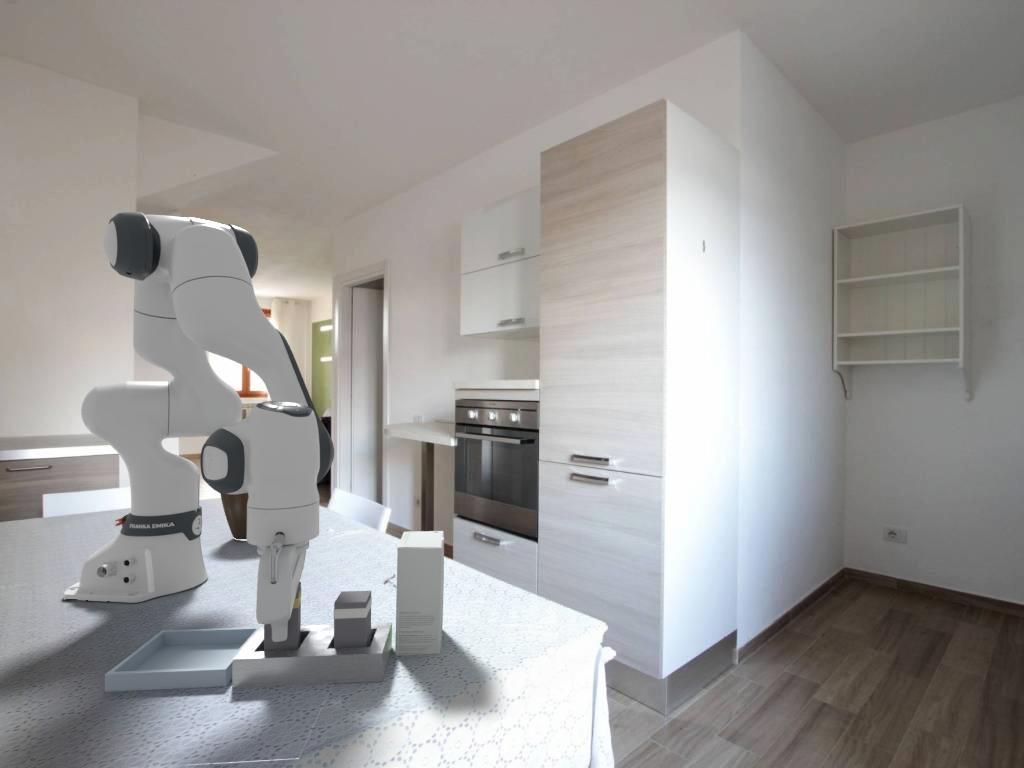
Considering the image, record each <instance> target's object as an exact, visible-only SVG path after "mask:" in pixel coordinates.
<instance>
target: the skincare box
mask: <svg viewBox="0 0 1024 768" xmlns="http://www.w3.org/2000/svg"><path fill="white" fill-rule="evenodd" d="M444 534H445V531H444V530H429V531H428V530H427V531H426V530H425V531H424V530H422V531H419V530H418V531H416V530H415V531H411V530H410V531H403V533H402V535H401V537H400V540H399V542H398V545H397V559H396V561H397V563H396V564H397V565H396V601H395V602H396V604H395V607H396V608H395V609H396V610H395V642H394V643H395V644H394V645H395V648H394V649H395V650H394V652H395V653H394V655H395V656H412V655H413V656H415V655H416V656H417V655H434V654H435V655H436V654H440V653H441V649H442V639H443V623H444V622H443V620H444V586H445V585H444V584H445V583H444V581H445V576H444V575H445V571H444V570H445V536H444Z"/></svg>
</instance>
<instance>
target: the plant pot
mask: <svg viewBox="0 0 1024 768" xmlns="http://www.w3.org/2000/svg"><path fill="white" fill-rule="evenodd" d="M219 494H220V498H221V499H220V500H221V504H222V507H223V511H224V515H225V518H226V522H227V525H228V527H229V530H230V532H231V535H232V537H234V538H236V539H247V503H248V498H249V495H248V493H243V494H221V493H219ZM234 538H233V539H234Z"/></svg>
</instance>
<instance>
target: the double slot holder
mask: <svg viewBox="0 0 1024 768" xmlns="http://www.w3.org/2000/svg"><path fill="white" fill-rule="evenodd" d="M260 627H261V628H260V629H259V630H258V631H257V632H256V633H255V635H254V636H253V637H252V638H251V639H250V640H249V641H248V643H247V644H246V645H245V646H244V647H243V648H242V649H241V650H240V652H239V653H238V654H237V655H236V656H235V657H234V658H233V667H232V679H231V680H232V682H231V686H232V687H231V688H232V689H239V688H240V689H241V688H258V687H259V688H261V687H262V688H264V687H280V686H281V687H283V686H286V687H287V686H301V685H303V686H305V685H324V684H327V685H328V684H332V685H342V684H344V685H345V684H363V683H364V684H366V683H367V684H369V683H382V682H383V680H384V676H385V673H386V669H387V665H388V663H389V659H390V655H391V652H392V648H393V622H373V623H372V622H371V646H370V647H359V648H334V624H315V625H313V624H311V625H309V624H308V625H301V629H300V647H299V649H298V650H285V651H264V626H260Z"/></svg>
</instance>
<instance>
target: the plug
mask: <svg viewBox="0 0 1024 768" xmlns="http://www.w3.org/2000/svg"><path fill="white" fill-rule="evenodd" d="M301 599H302V581H300V582H299V586H298V589H297V593H296V598H295V601H294V605H293V609H292V613H291V617H290V619H289V620H288V636H287V639H286V640H285V641H279V642H274V641H273V640H272V627H271V624H263V627H264V651H285V650H298V649H299V647H300V629H301V626H302V624H301V623H302V621H301V618H302V617H301V616H302V614H301V611H302V604H301V603H302V600H301Z"/></svg>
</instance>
